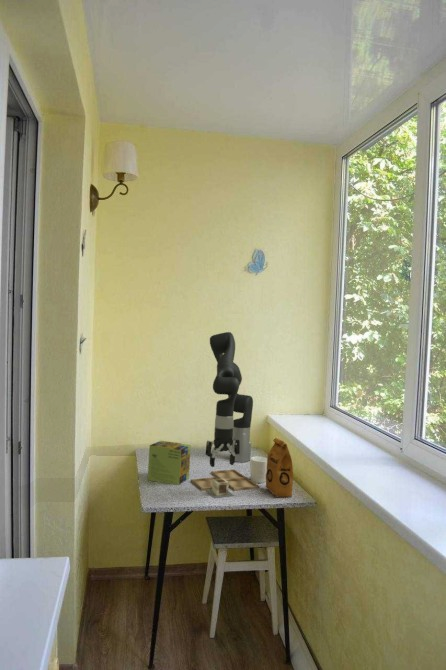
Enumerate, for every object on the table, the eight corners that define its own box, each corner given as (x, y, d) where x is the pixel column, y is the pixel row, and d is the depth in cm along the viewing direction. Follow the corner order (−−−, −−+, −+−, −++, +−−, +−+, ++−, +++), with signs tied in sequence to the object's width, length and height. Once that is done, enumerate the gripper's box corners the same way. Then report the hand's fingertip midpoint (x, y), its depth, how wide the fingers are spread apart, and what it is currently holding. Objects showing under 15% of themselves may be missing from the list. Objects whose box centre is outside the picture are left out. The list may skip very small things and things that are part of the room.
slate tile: (225, 489, 216) (225, 488, 216) (234, 497, 208) (234, 495, 208) (205, 491, 212) (205, 490, 212) (214, 499, 204) (214, 498, 204)
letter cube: (222, 490, 213) (223, 478, 213) (228, 494, 209) (228, 482, 208) (211, 491, 211) (212, 479, 211) (216, 495, 206) (217, 483, 206)
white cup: (268, 479, 232) (270, 457, 232) (264, 485, 225) (265, 462, 225) (252, 477, 235) (253, 455, 235) (247, 482, 228) (248, 459, 227)
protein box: (179, 486, 217) (181, 450, 216) (147, 480, 222) (148, 444, 222) (189, 479, 227) (191, 444, 226) (158, 473, 232) (160, 439, 232)
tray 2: (234, 472, 241) (234, 469, 240) (246, 480, 230) (246, 477, 230) (210, 474, 235) (210, 471, 235) (221, 482, 225) (222, 479, 225)
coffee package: (272, 498, 209) (275, 444, 208) (262, 488, 221) (265, 437, 220) (295, 497, 211) (298, 444, 210) (284, 487, 223) (287, 437, 222)
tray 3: (246, 480, 230) (246, 477, 230) (259, 489, 219) (259, 486, 219) (221, 482, 225) (222, 479, 225) (234, 492, 214) (234, 488, 214)
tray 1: (215, 480, 228) (216, 477, 228) (227, 489, 217) (227, 485, 217) (190, 482, 223) (190, 479, 223) (201, 491, 212) (201, 488, 212)
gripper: (235, 423, 215) (233, 461, 216) (204, 424, 209) (202, 464, 210) (243, 427, 208) (241, 466, 209) (211, 429, 202) (209, 469, 203)
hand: (222, 465), depth 209 cm, fingers open, 8 cm apart
